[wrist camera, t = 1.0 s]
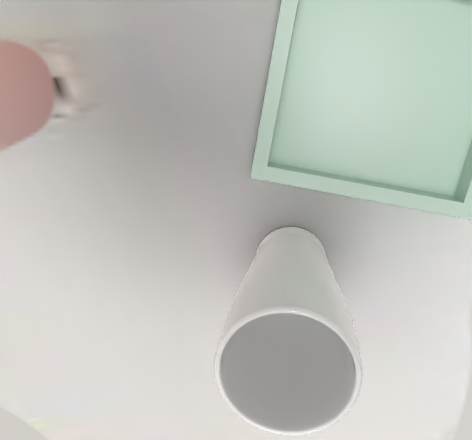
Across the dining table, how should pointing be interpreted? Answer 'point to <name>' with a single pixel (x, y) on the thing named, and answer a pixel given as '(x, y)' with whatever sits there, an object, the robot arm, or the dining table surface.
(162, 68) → the dining table surface
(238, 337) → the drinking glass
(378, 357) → the dining table surface
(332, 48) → the tray
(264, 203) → the dining table surface
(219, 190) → the dining table surface
